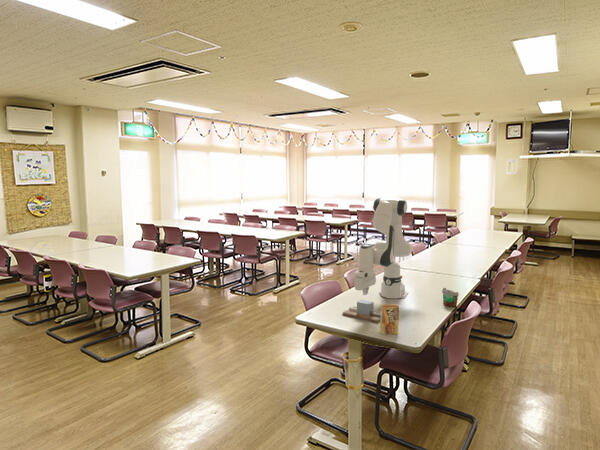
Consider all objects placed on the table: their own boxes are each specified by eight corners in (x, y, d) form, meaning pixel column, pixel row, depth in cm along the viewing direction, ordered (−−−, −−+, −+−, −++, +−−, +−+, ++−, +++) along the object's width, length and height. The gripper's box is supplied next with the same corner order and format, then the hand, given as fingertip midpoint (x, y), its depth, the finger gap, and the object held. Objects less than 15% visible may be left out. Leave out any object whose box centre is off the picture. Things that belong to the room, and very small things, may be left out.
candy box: (396, 331, 210) (396, 303, 208) (398, 334, 206) (399, 306, 204) (379, 331, 209) (380, 303, 208) (381, 334, 205) (382, 306, 203)
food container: (437, 303, 258) (437, 288, 257) (444, 302, 261) (445, 287, 259) (450, 308, 247) (451, 293, 246) (458, 307, 249) (458, 292, 248)
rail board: (354, 308, 247) (354, 304, 246) (387, 316, 233) (388, 311, 232) (342, 314, 236) (342, 310, 235) (377, 323, 222) (377, 318, 221)
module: (361, 310, 239) (361, 299, 238) (373, 313, 234) (373, 301, 233) (356, 313, 234) (356, 301, 234) (368, 316, 229) (368, 304, 228)
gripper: (369, 268, 241) (368, 289, 243) (352, 274, 225) (352, 297, 226) (378, 269, 237) (378, 291, 239) (362, 275, 221) (361, 299, 223)
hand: (365, 294), depth 232 cm, fingers closed
